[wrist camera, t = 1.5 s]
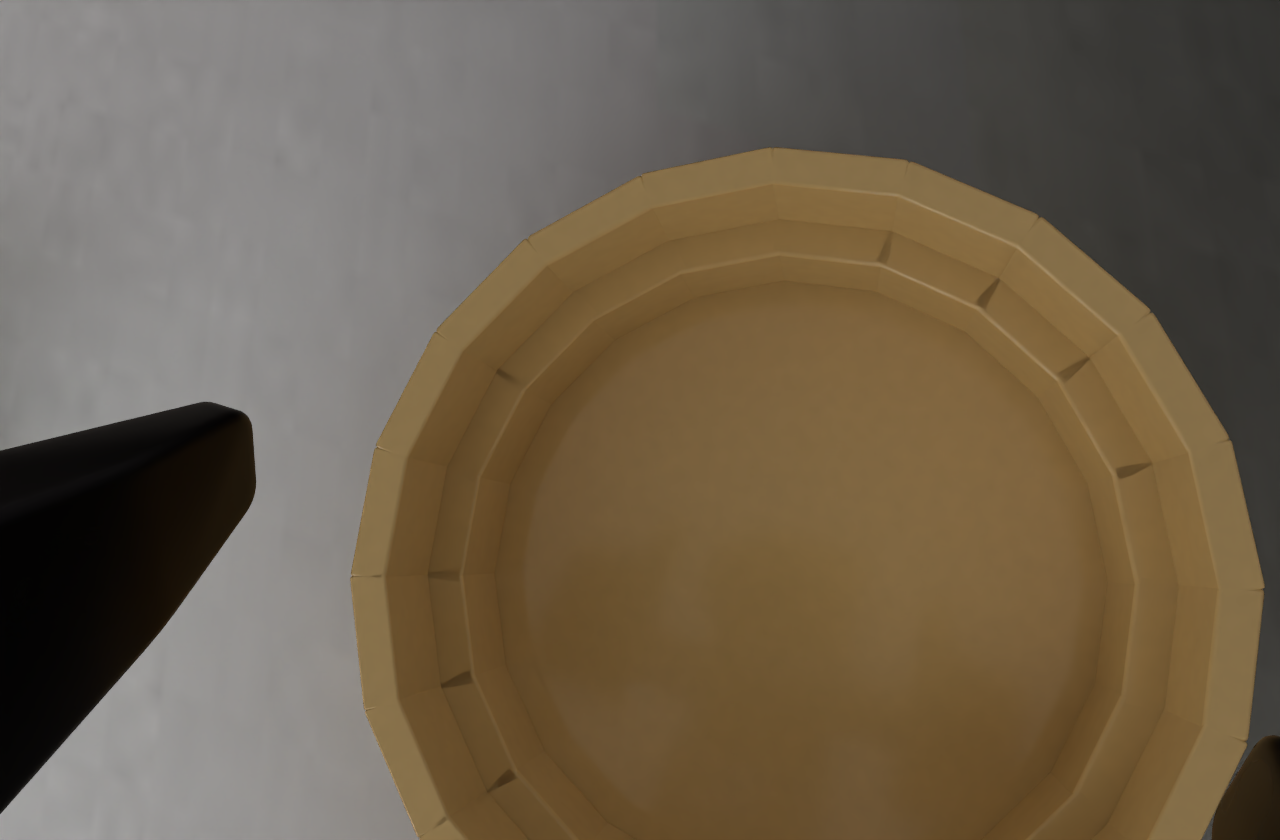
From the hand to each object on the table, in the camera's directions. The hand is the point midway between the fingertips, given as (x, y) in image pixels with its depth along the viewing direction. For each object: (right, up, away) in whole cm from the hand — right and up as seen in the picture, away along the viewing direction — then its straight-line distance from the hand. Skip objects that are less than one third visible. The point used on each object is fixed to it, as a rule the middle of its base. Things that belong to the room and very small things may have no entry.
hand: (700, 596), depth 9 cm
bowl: (+3, -2, +14) cm, 15 cm away
